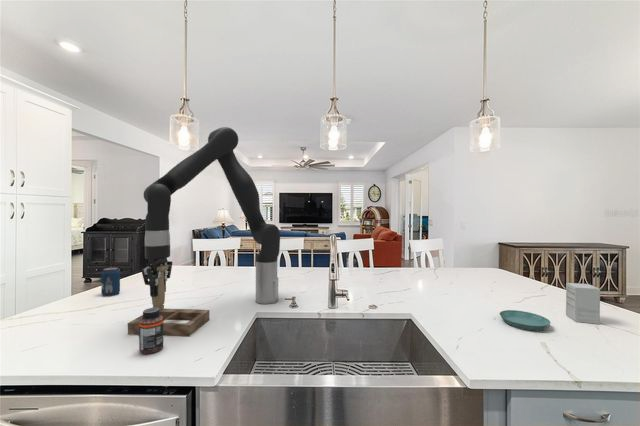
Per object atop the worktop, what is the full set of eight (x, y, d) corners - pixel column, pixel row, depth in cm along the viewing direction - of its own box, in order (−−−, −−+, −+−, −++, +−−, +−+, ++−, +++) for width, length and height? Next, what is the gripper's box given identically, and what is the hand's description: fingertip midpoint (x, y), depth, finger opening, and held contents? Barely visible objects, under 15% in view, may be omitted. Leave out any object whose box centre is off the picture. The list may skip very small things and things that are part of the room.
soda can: (116, 291, 140) (116, 266, 140) (122, 294, 136) (122, 268, 136) (99, 295, 135) (98, 268, 134) (104, 297, 131) (104, 270, 130)
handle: (162, 312, 97) (162, 267, 97) (144, 311, 98) (144, 266, 98) (171, 307, 102) (171, 264, 102) (154, 307, 103) (153, 263, 102)
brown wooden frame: (209, 319, 106) (209, 308, 106) (189, 336, 92) (189, 324, 92) (155, 317, 107) (155, 307, 107) (127, 334, 93) (127, 322, 93)
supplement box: (589, 317, 111) (589, 283, 110) (600, 324, 104) (601, 288, 103) (565, 315, 113) (565, 282, 113) (574, 322, 106) (575, 286, 106)
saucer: (489, 320, 108) (490, 313, 108) (516, 314, 113) (516, 308, 113) (532, 336, 94) (533, 328, 94) (560, 329, 100) (560, 321, 100)
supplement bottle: (145, 345, 86) (145, 306, 86) (167, 344, 86) (167, 305, 86) (134, 355, 80) (134, 313, 80) (157, 354, 80) (157, 313, 80)
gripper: (155, 246, 92) (156, 301, 92) (179, 241, 106) (180, 288, 107) (132, 246, 93) (133, 301, 93) (159, 241, 107) (160, 288, 107)
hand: (158, 294), depth 100 cm, fingers closed on handle, 4 cm apart
